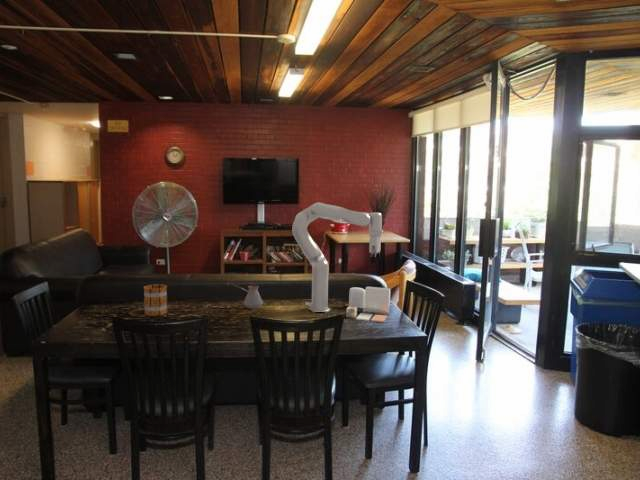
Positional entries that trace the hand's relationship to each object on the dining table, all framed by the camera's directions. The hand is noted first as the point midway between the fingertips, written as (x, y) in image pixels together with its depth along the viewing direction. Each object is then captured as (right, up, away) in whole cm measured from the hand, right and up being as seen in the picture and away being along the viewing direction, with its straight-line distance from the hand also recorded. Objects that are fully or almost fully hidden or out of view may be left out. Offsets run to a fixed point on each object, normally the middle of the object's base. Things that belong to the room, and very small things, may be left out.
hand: (375, 262), depth 293 cm
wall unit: (+1, -30, 0) cm, 30 cm away
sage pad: (-8, -31, -12) cm, 34 cm away
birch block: (-15, -31, -10) cm, 36 cm away
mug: (-127, -28, -8) cm, 130 cm away
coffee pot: (-78, -28, +5) cm, 83 cm away
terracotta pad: (0, -32, -15) cm, 35 cm away
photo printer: (-10, -29, +11) cm, 32 cm away
